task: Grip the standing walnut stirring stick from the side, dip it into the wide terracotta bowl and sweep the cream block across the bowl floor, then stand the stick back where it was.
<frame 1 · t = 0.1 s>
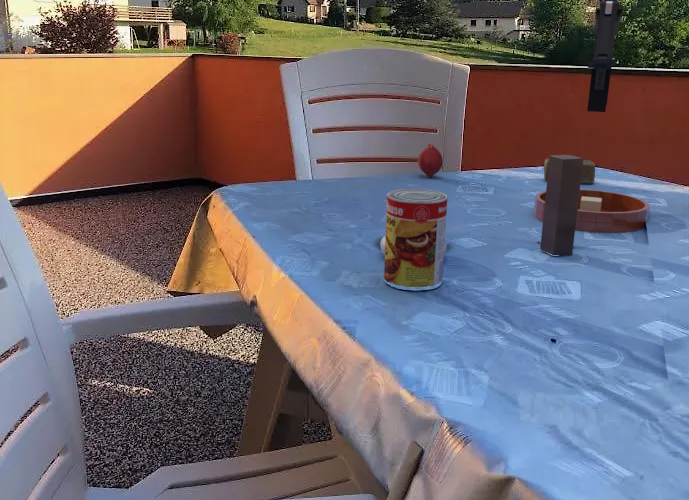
hand: (597, 108, 117), 21 cm above the table, tool pointing down, fingers open, 13 cm apart
block: (589, 217, 130), point 1 cm above the table, touching bowl
donut: (412, 258, 107), on the table
onion: (429, 177, 168), on the table
bowl: (588, 221, 129), on the table
stick: (555, 252, 110), on the table
canned food: (412, 283, 96), on the table
stone block: (568, 182, 166), on the table
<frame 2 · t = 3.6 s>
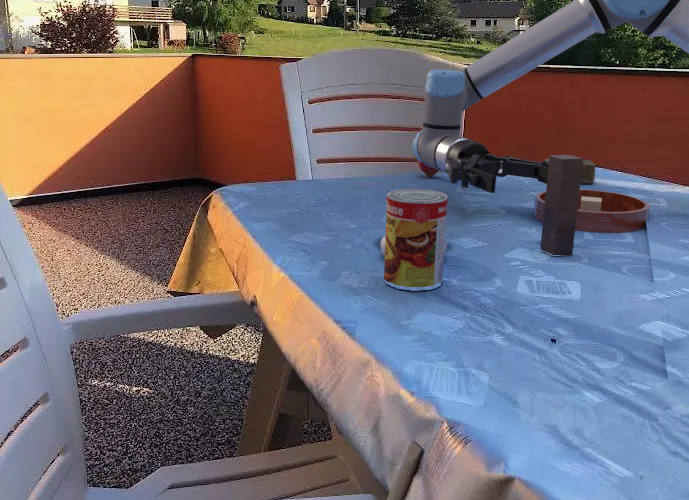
hand: (529, 182, 116), 9 cm above the table, tool horizontal, fingers open, 13 cm apart
nothing on the table moved.
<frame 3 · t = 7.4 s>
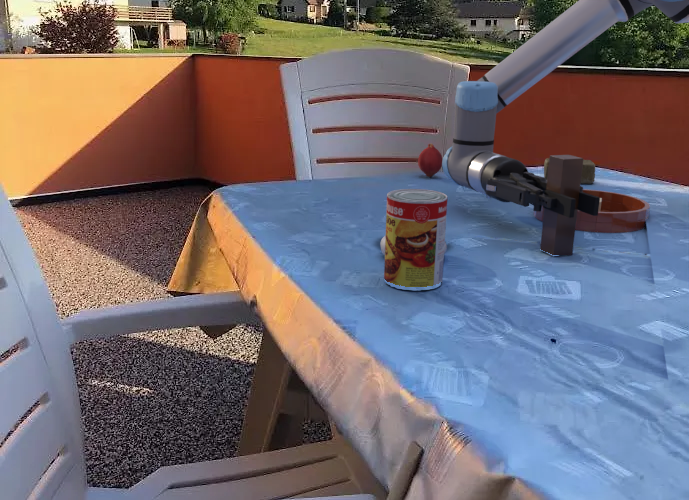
hand: (584, 207, 103), 8 cm above the table, tool horizontal, fingers closed on stick, 3 cm apart
stick: (555, 252, 110), on the table, touching gripper
everything else where it was.
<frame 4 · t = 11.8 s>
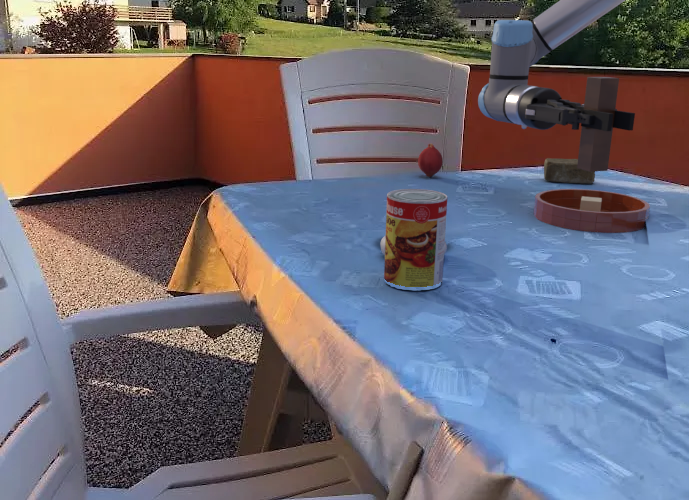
hand: (621, 122, 111), 19 cm above the table, tool horizontal, fingers closed on stick, 3 cm apart
stick: (592, 169, 119), point 11 cm above the table, touching gripper
everything else where it was.
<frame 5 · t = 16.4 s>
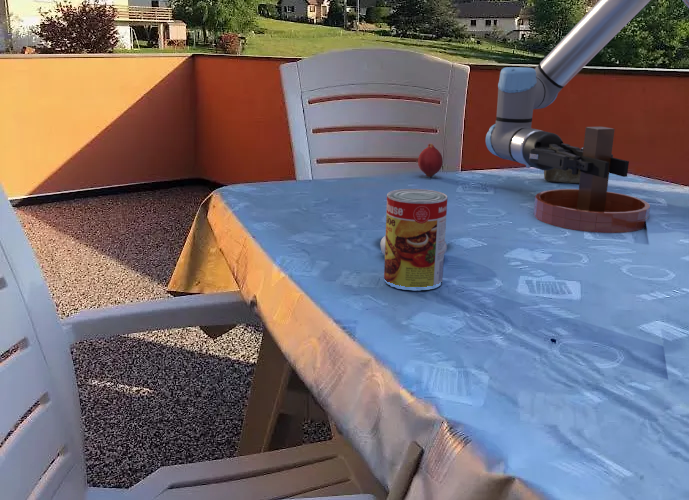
hand: (616, 169, 123), 10 cm above the table, tool horizontal, fingers closed on stick, 3 cm apart
block: (588, 211, 134), point 1 cm above the table, touching bowl, stick
stick: (590, 210, 130), point 2 cm above the table, touching block, gripper
everything else where it was.
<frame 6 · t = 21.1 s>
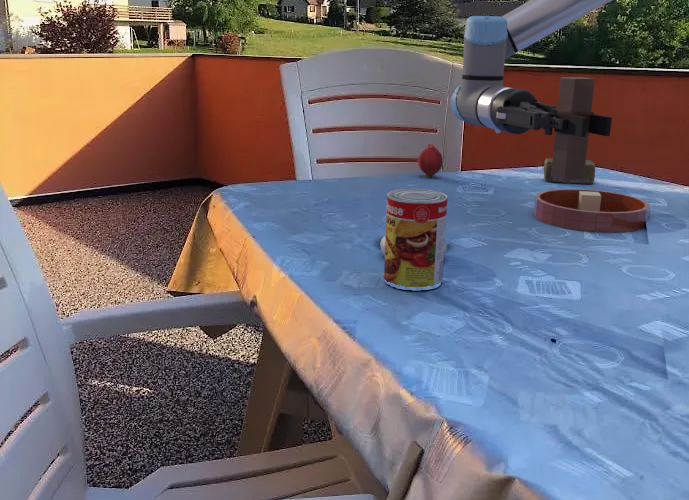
hand: (596, 127, 102), 20 cm above the table, tool horizontal, fingers closed on stick, 3 cm apart
block: (588, 211, 134), point 1 cm above the table, touching bowl
stick: (567, 178, 109), point 11 cm above the table, touching gripper
everything else where it was.
when the fingers open (8 cm above the table, at t = 24.6 s): stick stays where it is, on the table.
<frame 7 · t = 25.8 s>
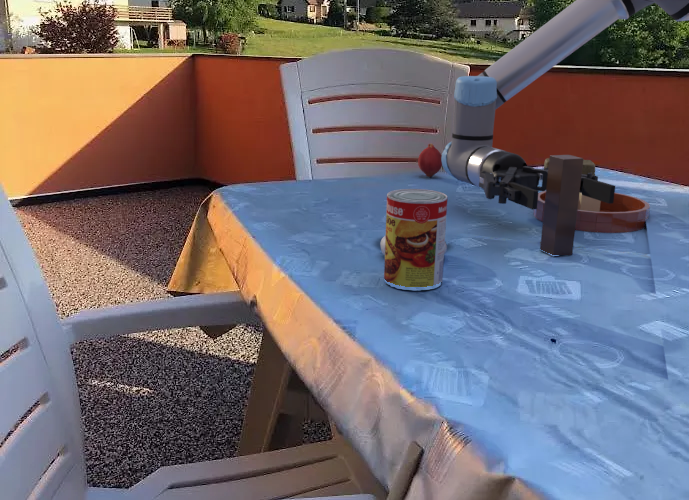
hand: (574, 197, 105), 9 cm above the table, tool horizontal, fingers open, 13 cm apart
stick: (555, 252, 110), on the table
everything else where it was.
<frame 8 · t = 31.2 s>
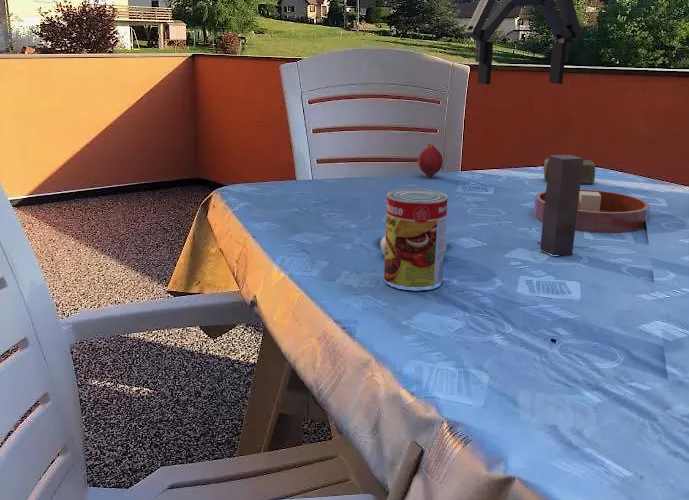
hand: (520, 83, 116), 25 cm above the table, tool pointing down, fingers open, 13 cm apart
nothing on the table moved.
at the end: block moved 5.1 cm from its start; block inside the target area in the bowl (5.6 cm from its centre), point 0.6 cm above the bowl's base; the gripper is holding nothing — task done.
